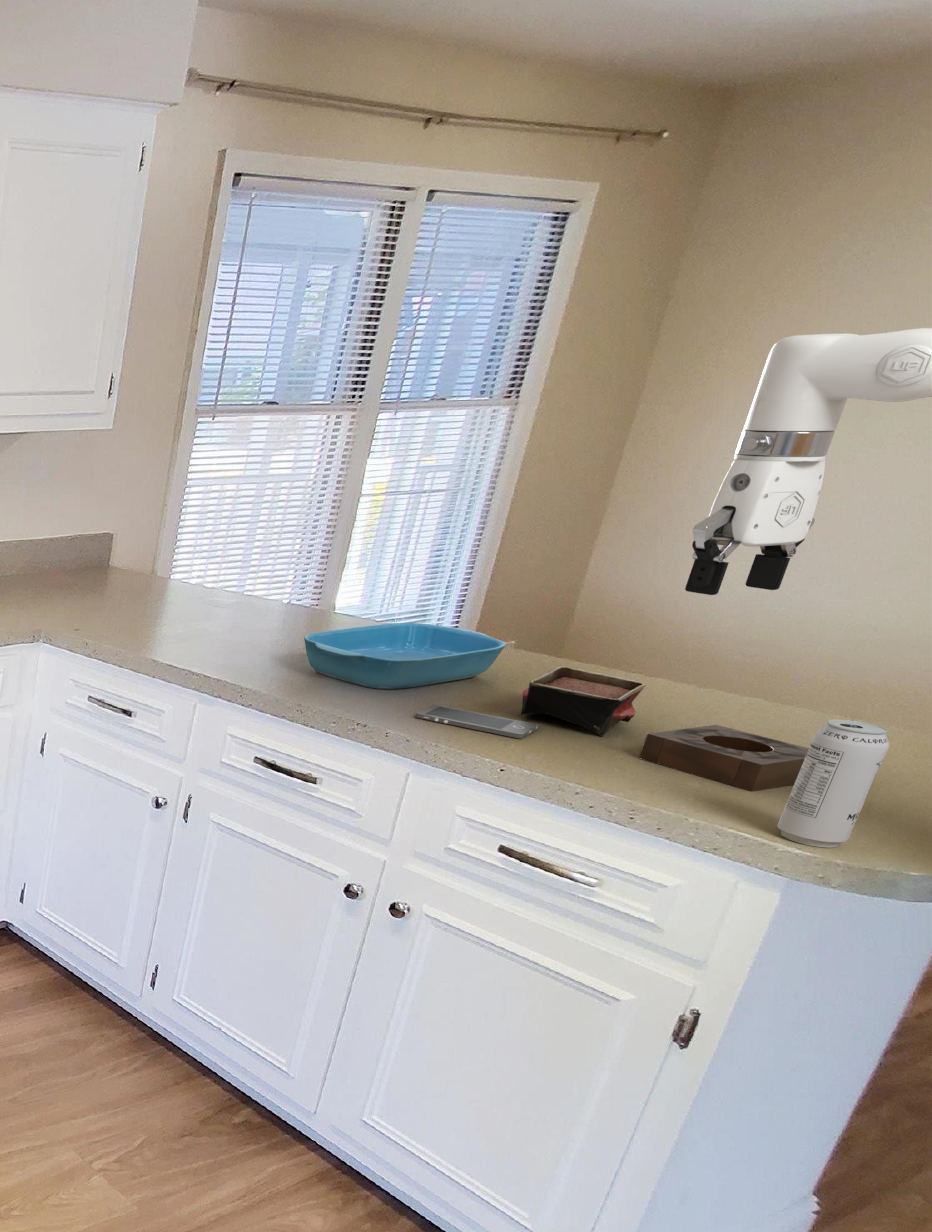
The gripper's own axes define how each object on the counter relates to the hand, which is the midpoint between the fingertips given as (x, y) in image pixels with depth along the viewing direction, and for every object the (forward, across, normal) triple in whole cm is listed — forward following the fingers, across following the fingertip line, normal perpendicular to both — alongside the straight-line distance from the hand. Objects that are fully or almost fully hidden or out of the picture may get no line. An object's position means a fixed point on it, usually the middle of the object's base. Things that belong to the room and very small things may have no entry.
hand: (731, 590), depth 127 cm
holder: (+30, +26, +8) cm, 40 cm away
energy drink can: (+30, +7, -12) cm, 33 cm away
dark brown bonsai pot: (+30, +27, +31) cm, 51 cm away
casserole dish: (+30, +25, +63) cm, 74 cm away
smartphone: (+29, +11, +35) cm, 47 cm away
